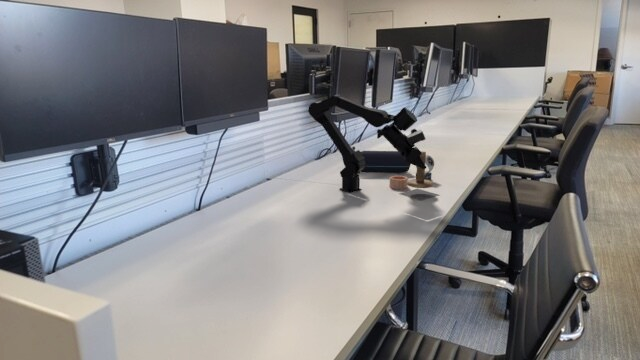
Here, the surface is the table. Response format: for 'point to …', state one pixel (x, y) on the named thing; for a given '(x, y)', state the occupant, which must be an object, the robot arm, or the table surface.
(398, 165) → the portable speaker
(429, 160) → the watch
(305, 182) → the table surface
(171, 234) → the table surface
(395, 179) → the bowl
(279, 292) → the table surface
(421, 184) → the lid
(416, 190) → the mat
